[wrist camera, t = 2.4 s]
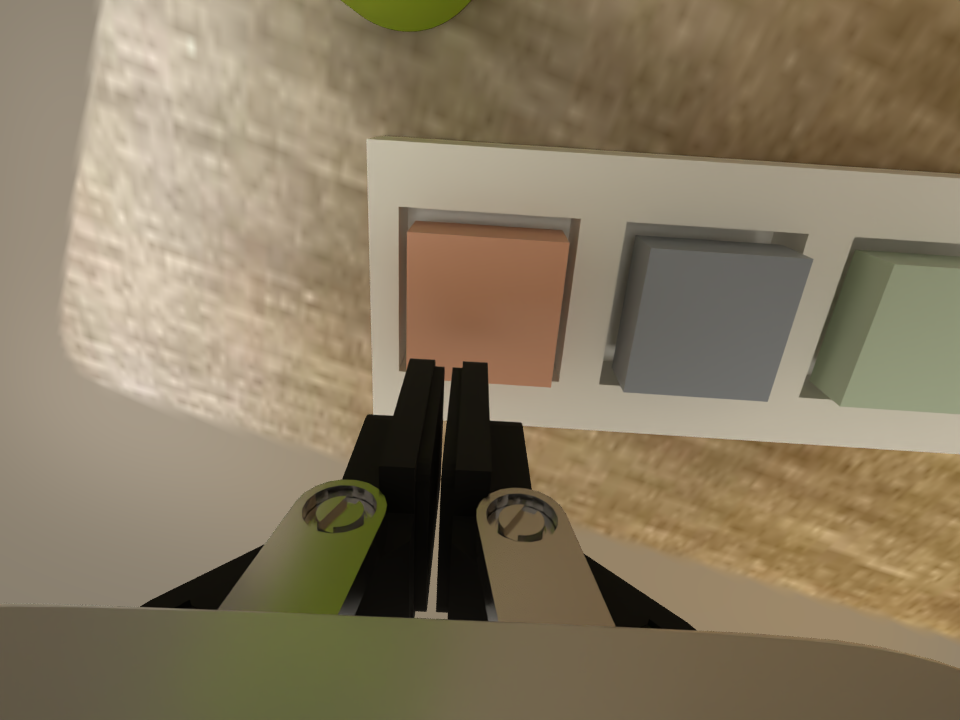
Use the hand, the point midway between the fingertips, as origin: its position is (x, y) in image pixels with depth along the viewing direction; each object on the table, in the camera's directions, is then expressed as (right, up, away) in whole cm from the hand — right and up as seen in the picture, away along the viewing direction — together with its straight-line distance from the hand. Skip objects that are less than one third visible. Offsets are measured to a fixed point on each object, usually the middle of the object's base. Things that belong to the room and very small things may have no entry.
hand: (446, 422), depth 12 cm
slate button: (+8, +3, +8) cm, 12 cm away
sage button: (+16, +3, +8) cm, 18 cm away
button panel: (+8, +4, +10) cm, 14 cm away
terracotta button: (+1, +4, +8) cm, 9 cm away
